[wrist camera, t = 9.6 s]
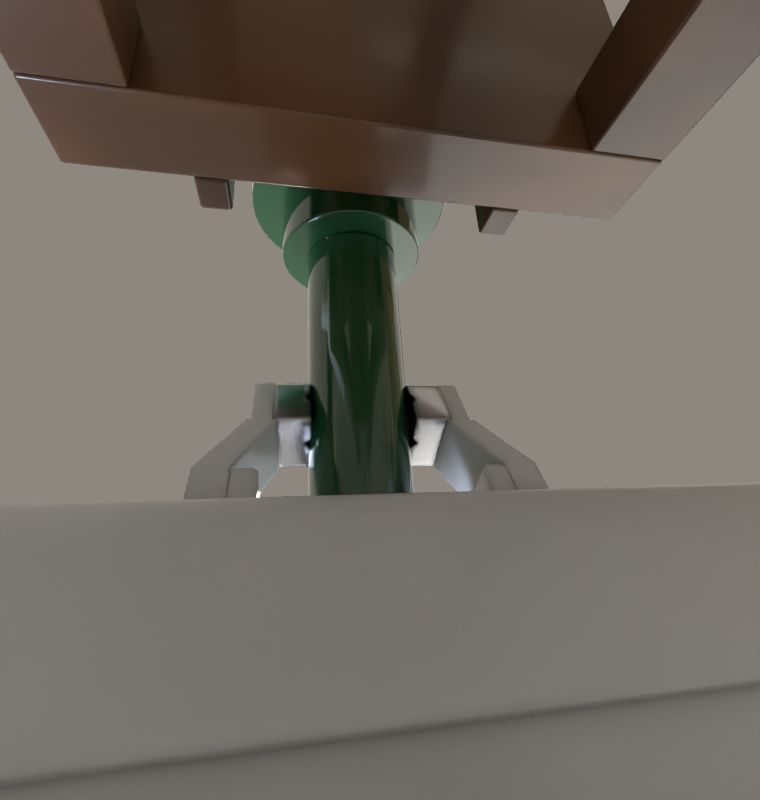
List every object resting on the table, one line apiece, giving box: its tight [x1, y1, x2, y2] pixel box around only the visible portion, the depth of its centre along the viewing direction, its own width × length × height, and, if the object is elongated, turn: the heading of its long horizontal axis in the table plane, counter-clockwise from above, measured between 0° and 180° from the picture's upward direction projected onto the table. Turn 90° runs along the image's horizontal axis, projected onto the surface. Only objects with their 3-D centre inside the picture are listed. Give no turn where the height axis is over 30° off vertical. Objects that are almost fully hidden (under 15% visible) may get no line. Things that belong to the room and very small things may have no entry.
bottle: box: [252, 182, 443, 496], centre depth 16 cm, size 6×26×6 cm, turn 177°
